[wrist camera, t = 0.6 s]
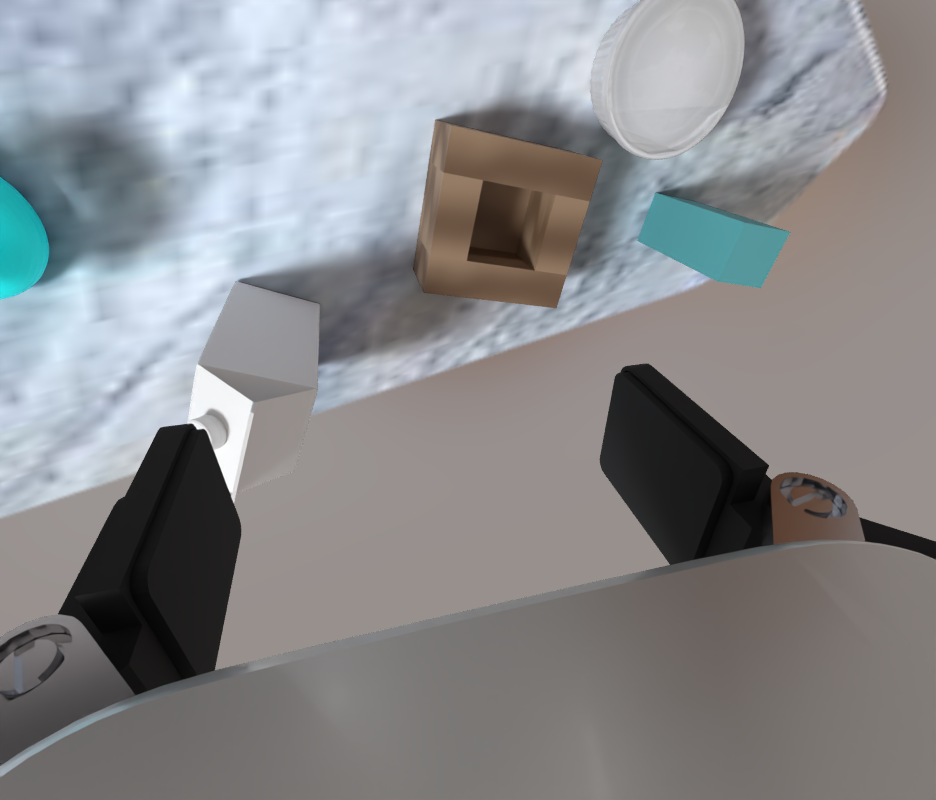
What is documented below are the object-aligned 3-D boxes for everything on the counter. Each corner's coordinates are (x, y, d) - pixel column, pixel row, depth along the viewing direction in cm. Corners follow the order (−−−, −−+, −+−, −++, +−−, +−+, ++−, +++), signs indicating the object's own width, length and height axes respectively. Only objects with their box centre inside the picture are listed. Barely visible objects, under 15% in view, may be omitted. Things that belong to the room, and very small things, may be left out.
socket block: (435, 119, 38) (451, 125, 33) (570, 151, 41) (602, 160, 37) (413, 269, 44) (424, 292, 39) (532, 284, 47) (556, 308, 42)
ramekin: (607, 179, 44) (637, 189, 39) (554, 51, 37) (583, 47, 33) (715, 98, 42) (759, 100, 38) (679, -49, 36) (727, -67, 31)
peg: (655, 192, 45) (745, 222, 36) (693, 201, 47) (790, 232, 37) (637, 240, 48) (717, 281, 38) (674, 247, 49) (760, 288, 39)
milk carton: (320, 303, 43) (317, 424, 28) (303, 369, 46) (291, 512, 31) (235, 279, 40) (178, 399, 25) (222, 352, 44) (165, 499, 28)
